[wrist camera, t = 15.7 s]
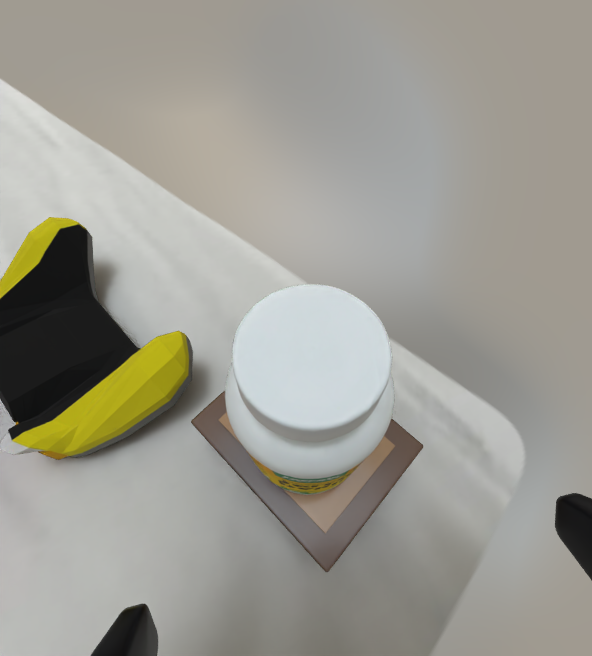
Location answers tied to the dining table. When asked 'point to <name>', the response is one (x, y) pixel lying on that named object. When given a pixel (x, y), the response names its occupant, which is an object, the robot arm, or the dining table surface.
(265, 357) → the supplement bottle
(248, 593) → the dining table surface
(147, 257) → the dining table surface
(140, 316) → the dining table surface
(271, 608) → the dining table surface
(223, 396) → the walnut stand
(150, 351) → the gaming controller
